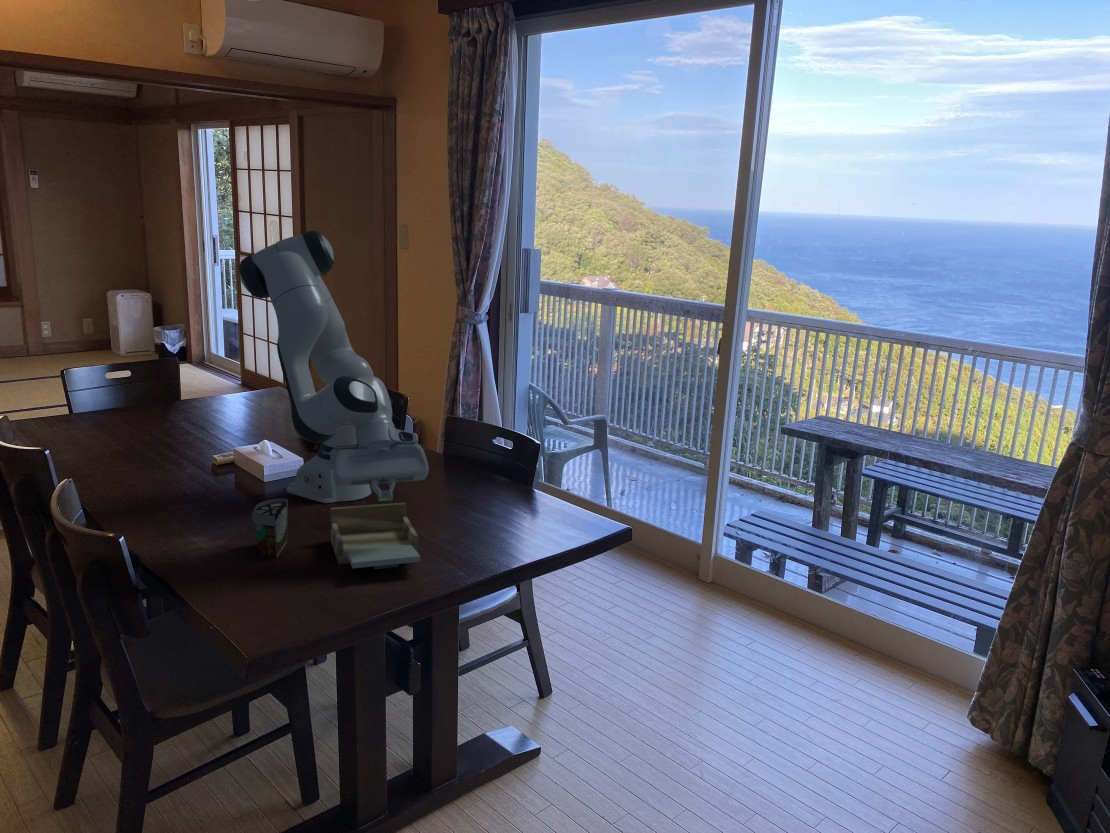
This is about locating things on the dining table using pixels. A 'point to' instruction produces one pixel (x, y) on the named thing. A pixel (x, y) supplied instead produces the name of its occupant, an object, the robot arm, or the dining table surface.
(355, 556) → the panel
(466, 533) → the dining table surface
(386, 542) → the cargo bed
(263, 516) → the food container
